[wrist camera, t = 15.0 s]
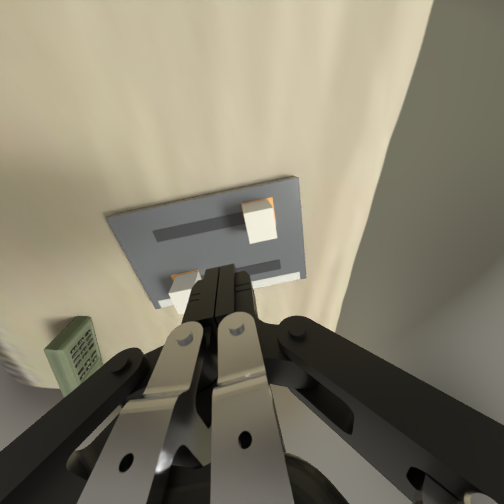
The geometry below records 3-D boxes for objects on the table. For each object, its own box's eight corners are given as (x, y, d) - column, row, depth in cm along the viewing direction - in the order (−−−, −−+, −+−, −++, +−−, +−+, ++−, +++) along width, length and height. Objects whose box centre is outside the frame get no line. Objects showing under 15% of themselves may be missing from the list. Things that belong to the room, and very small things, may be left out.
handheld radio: (95, 315, 34) (115, 400, 45) (74, 314, 33) (99, 399, 44) (63, 351, 28) (96, 438, 39) (37, 349, 27) (77, 438, 38)
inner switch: (241, 204, 25) (243, 213, 21) (267, 199, 25) (273, 207, 21) (247, 231, 26) (249, 243, 23) (271, 226, 26) (277, 238, 23)
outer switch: (176, 275, 29) (168, 293, 25) (198, 271, 29) (193, 288, 25) (184, 295, 30) (178, 314, 27) (205, 290, 30) (202, 309, 27)
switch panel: (114, 213, 26) (105, 218, 24) (294, 175, 26) (299, 177, 24) (159, 300, 33) (155, 309, 31) (302, 271, 33) (306, 278, 31)
